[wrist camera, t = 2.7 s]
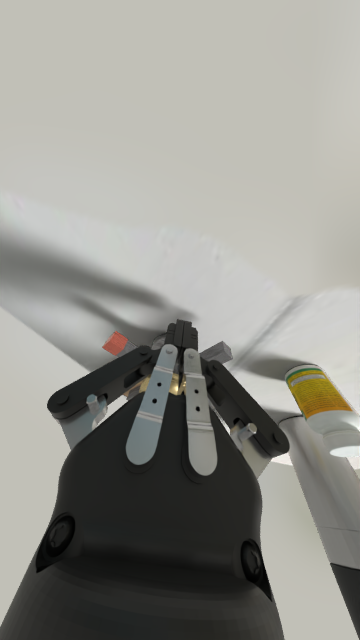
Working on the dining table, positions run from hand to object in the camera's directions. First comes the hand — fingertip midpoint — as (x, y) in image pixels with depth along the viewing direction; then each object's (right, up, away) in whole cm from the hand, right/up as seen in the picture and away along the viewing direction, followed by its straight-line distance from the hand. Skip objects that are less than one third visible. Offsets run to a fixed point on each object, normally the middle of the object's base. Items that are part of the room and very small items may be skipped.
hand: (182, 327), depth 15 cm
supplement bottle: (+19, -8, +9) cm, 23 cm away
